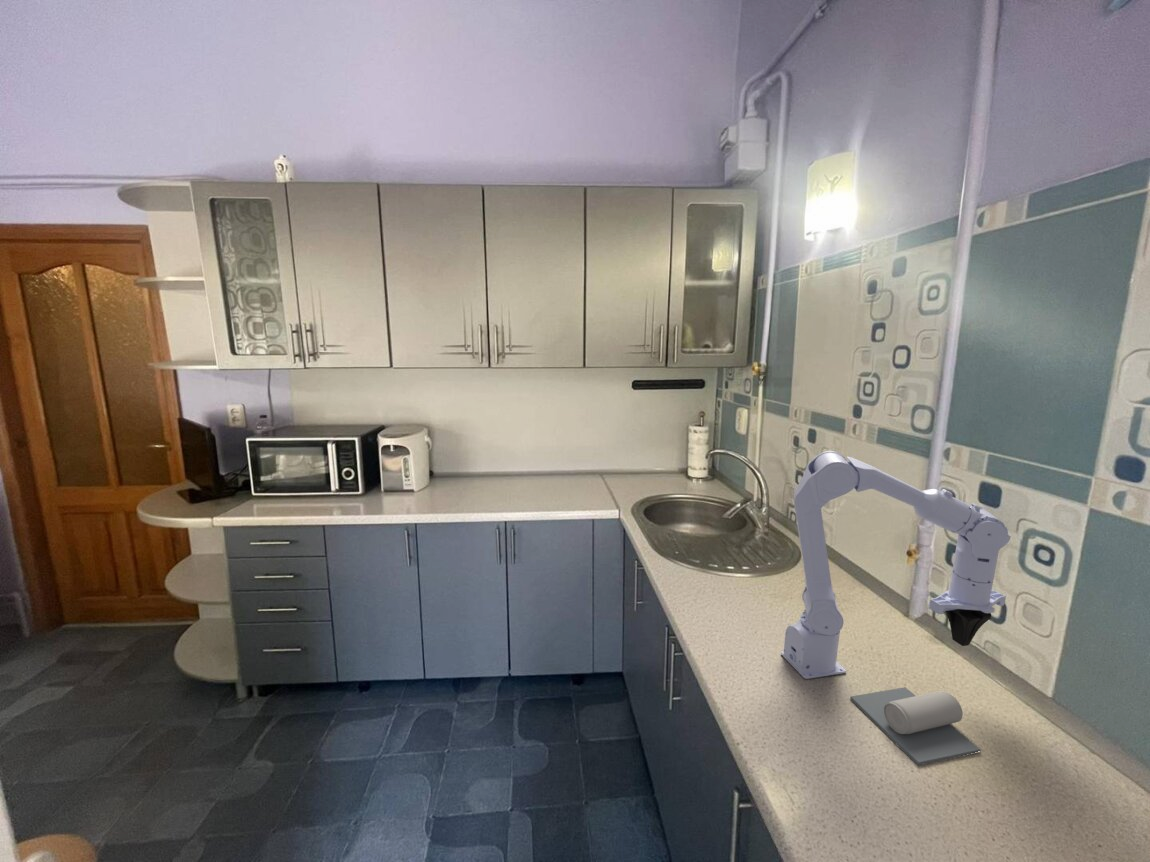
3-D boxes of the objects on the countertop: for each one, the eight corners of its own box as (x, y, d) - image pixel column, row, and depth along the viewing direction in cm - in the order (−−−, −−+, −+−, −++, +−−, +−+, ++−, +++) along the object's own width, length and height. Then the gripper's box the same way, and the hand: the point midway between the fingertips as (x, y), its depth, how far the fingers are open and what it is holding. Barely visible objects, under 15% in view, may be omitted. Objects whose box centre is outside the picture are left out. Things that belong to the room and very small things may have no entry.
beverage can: (946, 684, 82) (891, 696, 79) (970, 713, 78) (913, 726, 76) (932, 698, 85) (878, 710, 82) (955, 726, 81) (899, 740, 78)
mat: (918, 765, 73) (918, 762, 73) (850, 699, 87) (850, 696, 87) (980, 752, 76) (980, 749, 76) (904, 689, 89) (905, 687, 89)
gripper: (961, 591, 79) (948, 661, 82) (1029, 582, 82) (1015, 651, 84) (923, 570, 86) (912, 637, 88) (987, 563, 89) (975, 627, 91)
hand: (960, 642), depth 87 cm, fingers closed
